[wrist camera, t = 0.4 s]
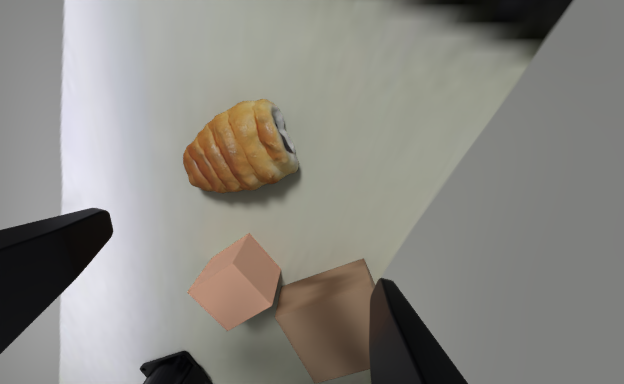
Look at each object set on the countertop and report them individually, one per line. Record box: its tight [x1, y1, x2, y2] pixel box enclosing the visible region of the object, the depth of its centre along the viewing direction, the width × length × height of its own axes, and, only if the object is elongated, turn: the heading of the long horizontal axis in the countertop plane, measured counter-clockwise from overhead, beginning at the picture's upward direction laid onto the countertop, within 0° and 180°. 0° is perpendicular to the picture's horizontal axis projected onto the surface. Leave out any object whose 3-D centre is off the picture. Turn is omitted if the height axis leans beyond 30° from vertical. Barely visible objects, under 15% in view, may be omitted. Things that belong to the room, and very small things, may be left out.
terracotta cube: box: [187, 233, 281, 331], centre depth 23 cm, size 5×5×5 cm
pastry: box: [183, 99, 299, 193], centre depth 20 cm, size 9×7×4 cm
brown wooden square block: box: [275, 259, 375, 383], centre depth 25 cm, size 9×9×4 cm
